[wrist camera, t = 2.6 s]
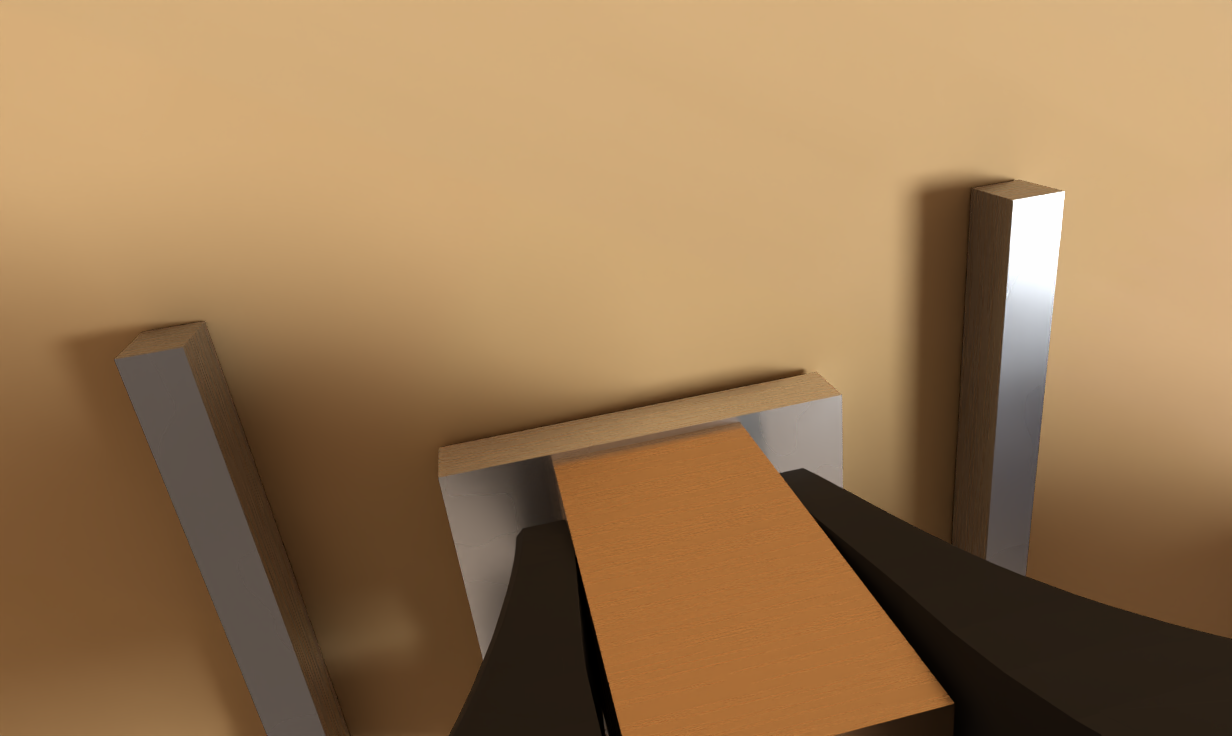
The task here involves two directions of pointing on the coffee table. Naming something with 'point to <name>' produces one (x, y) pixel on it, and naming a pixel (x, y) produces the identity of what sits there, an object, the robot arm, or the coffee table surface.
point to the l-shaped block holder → (699, 566)
